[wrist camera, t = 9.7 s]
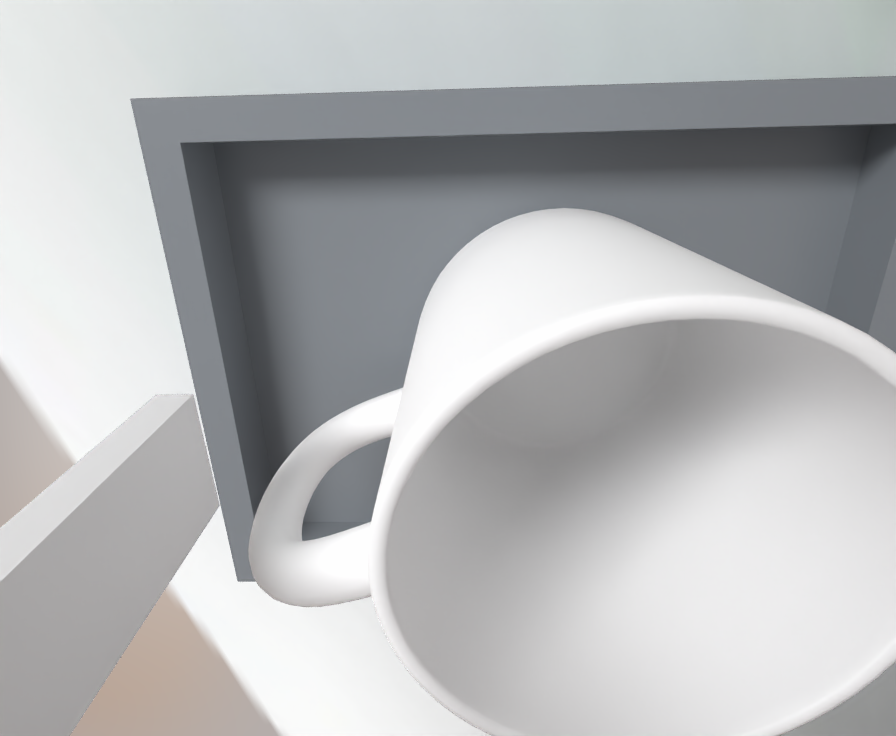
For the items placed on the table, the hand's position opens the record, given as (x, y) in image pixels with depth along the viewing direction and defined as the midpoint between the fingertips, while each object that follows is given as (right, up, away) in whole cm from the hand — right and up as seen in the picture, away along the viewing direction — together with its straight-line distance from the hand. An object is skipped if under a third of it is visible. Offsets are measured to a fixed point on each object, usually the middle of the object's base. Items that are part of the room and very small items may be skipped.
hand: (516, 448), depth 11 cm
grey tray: (+1, +2, +7) cm, 7 cm away
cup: (0, +2, +6) cm, 7 cm away
